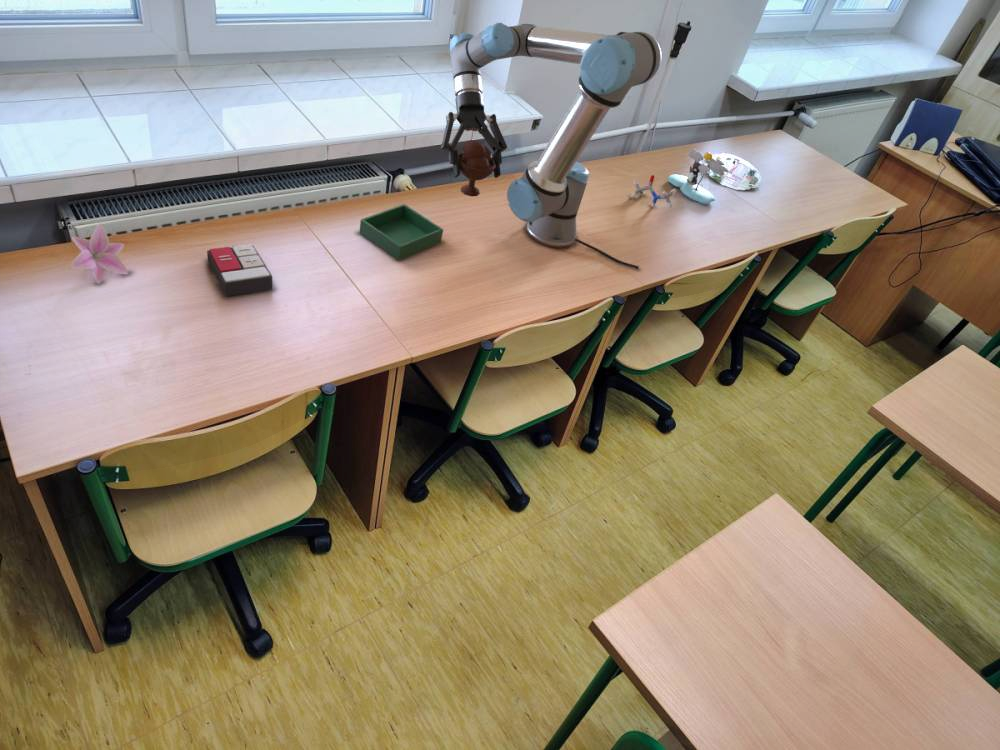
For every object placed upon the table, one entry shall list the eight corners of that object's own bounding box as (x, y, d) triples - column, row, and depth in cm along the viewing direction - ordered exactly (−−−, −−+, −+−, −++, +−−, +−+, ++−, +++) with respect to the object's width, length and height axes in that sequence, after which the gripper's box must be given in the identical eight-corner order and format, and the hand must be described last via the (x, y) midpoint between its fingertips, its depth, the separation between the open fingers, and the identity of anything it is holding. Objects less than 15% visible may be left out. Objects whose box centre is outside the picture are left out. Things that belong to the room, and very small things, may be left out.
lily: (64, 289, 155) (75, 265, 149) (58, 243, 158) (68, 219, 152) (124, 293, 163) (136, 271, 157) (116, 249, 167) (128, 226, 161)
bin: (441, 242, 198) (443, 229, 195) (398, 260, 187) (400, 246, 185) (402, 216, 204) (404, 203, 201) (359, 233, 193) (360, 219, 190)
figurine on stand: (661, 179, 260) (677, 140, 250) (682, 177, 265) (698, 139, 256) (697, 207, 249) (714, 168, 239) (718, 205, 254) (736, 166, 244)
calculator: (252, 241, 174) (272, 274, 165) (253, 256, 177) (273, 289, 168) (206, 247, 168) (223, 281, 159) (207, 262, 171) (225, 297, 162)
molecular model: (674, 215, 241) (686, 187, 236) (661, 216, 235) (673, 187, 230) (634, 195, 250) (644, 167, 245) (620, 194, 244) (631, 166, 239)
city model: (697, 184, 269) (704, 170, 264) (697, 152, 284) (703, 139, 280) (760, 202, 269) (768, 189, 265) (756, 170, 285) (764, 156, 280)
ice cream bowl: (485, 205, 194) (496, 154, 184) (446, 194, 194) (455, 142, 184) (493, 188, 202) (503, 139, 192) (455, 177, 202) (464, 127, 192)
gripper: (502, 103, 200) (511, 180, 200) (423, 98, 191) (432, 179, 191) (513, 92, 193) (522, 172, 193) (431, 87, 184) (440, 171, 184)
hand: (477, 176), depth 192 cm, fingers closed on ice cream bowl, 11 cm apart
